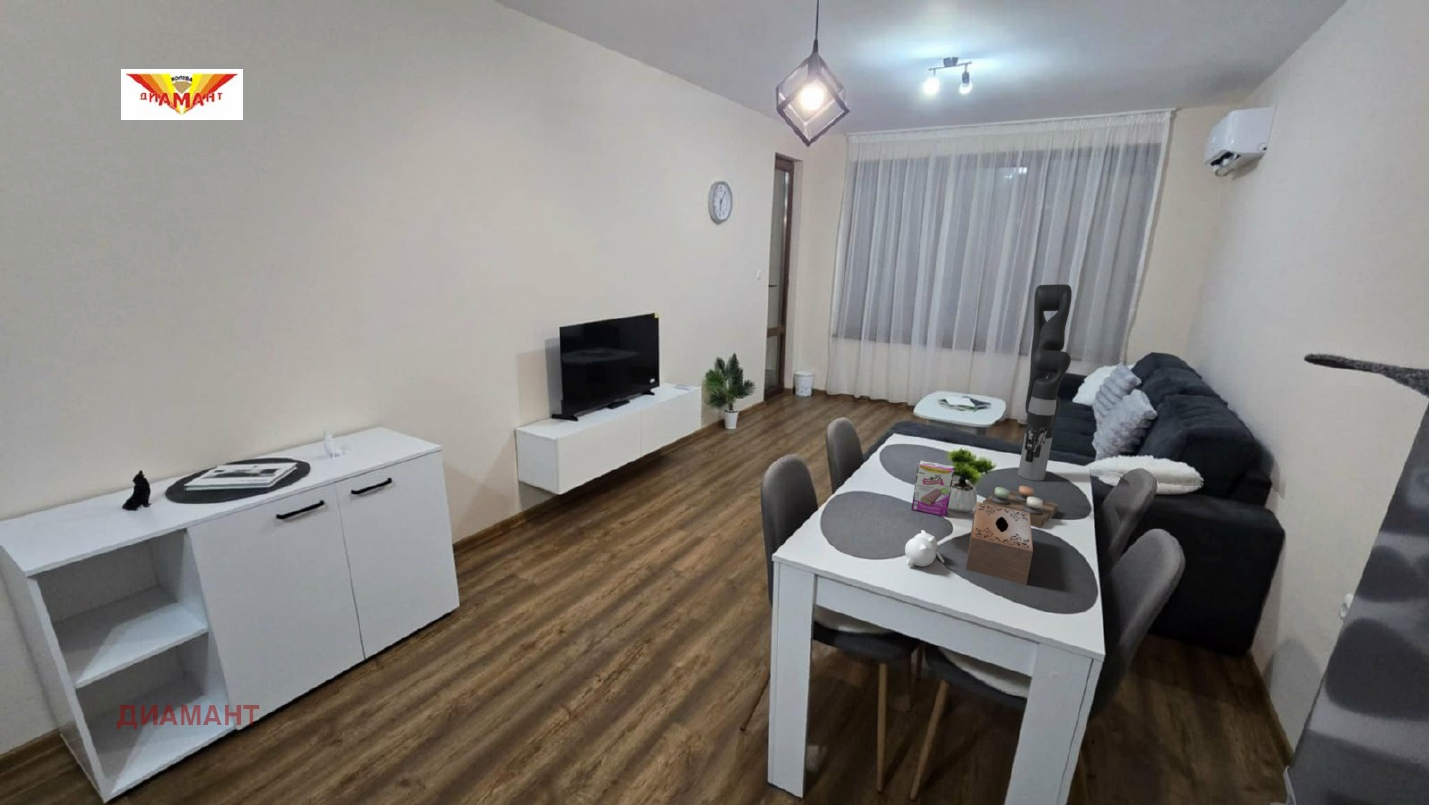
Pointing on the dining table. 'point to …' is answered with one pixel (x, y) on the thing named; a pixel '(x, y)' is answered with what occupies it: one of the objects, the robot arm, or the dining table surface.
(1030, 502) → the cream button
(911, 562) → the cat figurine
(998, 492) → the sage-green button
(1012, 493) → the walnut button panel
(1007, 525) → the tissue box cover
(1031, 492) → the terracotta button
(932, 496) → the candy bar box
